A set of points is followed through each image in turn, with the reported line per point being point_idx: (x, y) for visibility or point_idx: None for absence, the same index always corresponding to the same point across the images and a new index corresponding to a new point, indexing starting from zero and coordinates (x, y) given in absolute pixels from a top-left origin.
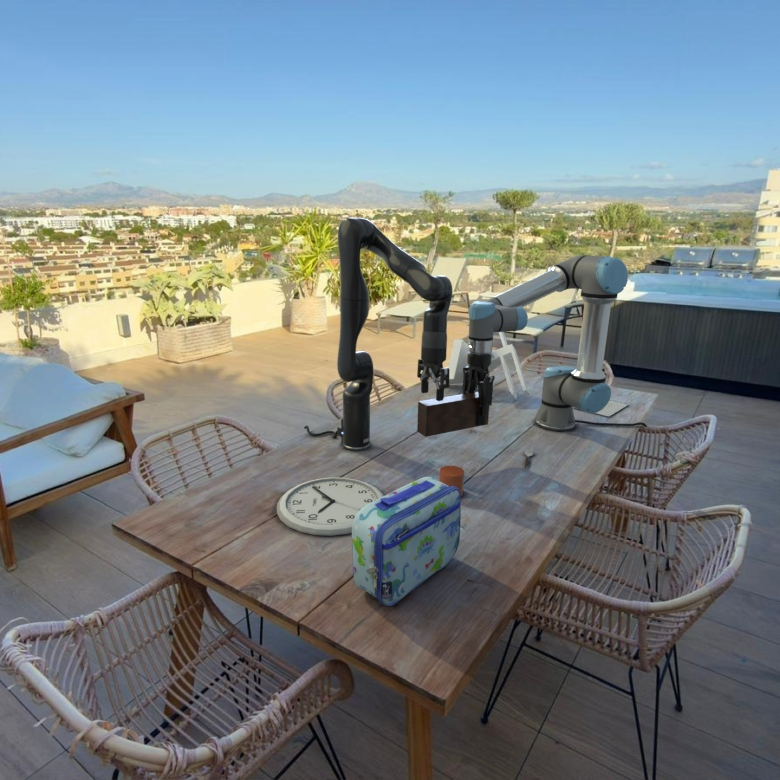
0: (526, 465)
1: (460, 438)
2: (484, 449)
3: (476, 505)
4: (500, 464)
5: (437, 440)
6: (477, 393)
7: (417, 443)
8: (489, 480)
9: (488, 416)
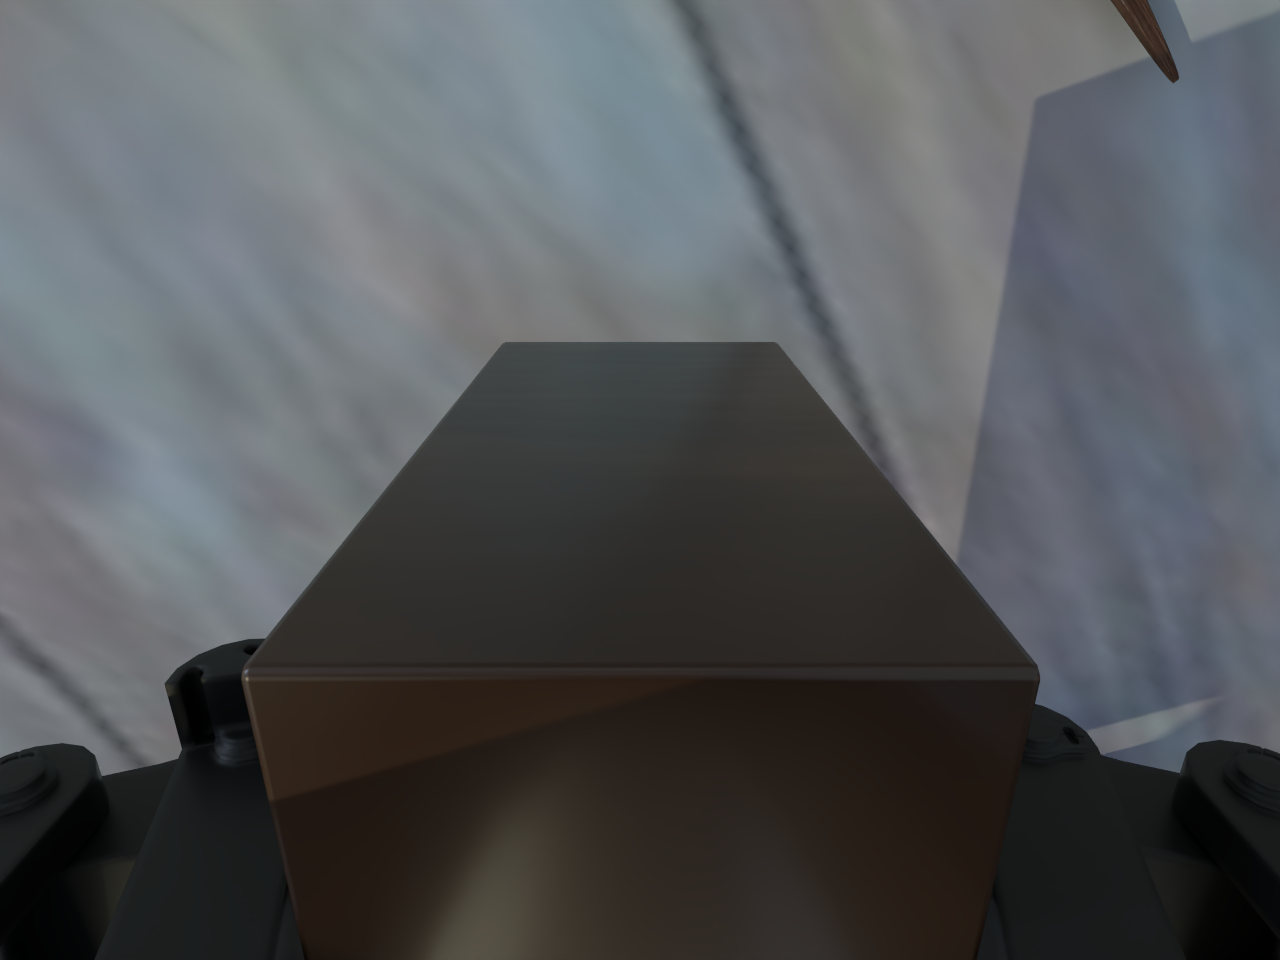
0: (1150, 10)
1: (160, 190)
2: (532, 129)
3: None
4: (911, 226)
5: (155, 449)
6: (516, 957)
7: (180, 640)
8: (1075, 522)
9: (808, 385)
